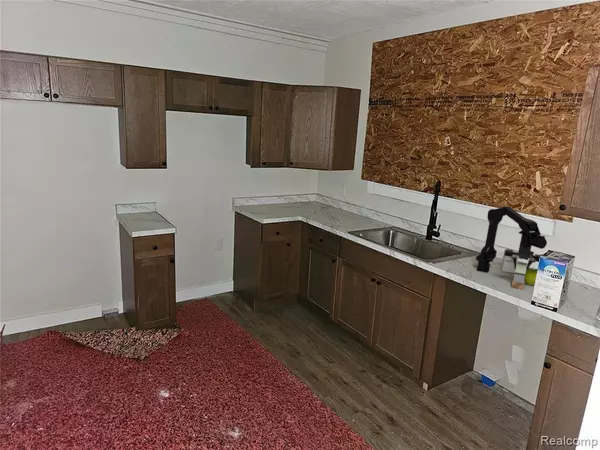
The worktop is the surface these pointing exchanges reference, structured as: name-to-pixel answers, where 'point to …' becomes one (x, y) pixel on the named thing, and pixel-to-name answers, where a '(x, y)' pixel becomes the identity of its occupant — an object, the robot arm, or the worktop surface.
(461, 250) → the worktop surface
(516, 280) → the tower mid
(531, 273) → the fruit
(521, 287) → the tower base
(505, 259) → the supplement box
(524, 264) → the sage cube
